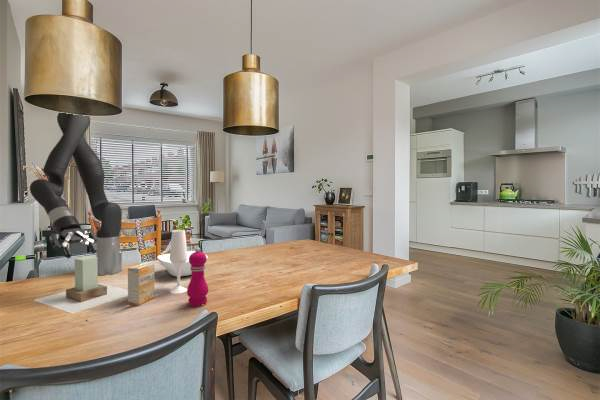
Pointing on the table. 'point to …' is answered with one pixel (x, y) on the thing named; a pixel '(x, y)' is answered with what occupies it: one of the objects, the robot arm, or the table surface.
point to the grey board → (75, 306)
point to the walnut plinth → (86, 293)
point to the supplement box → (140, 283)
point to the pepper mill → (197, 279)
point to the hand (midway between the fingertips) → (82, 254)
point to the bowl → (173, 269)
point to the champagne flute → (178, 256)
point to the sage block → (86, 273)
